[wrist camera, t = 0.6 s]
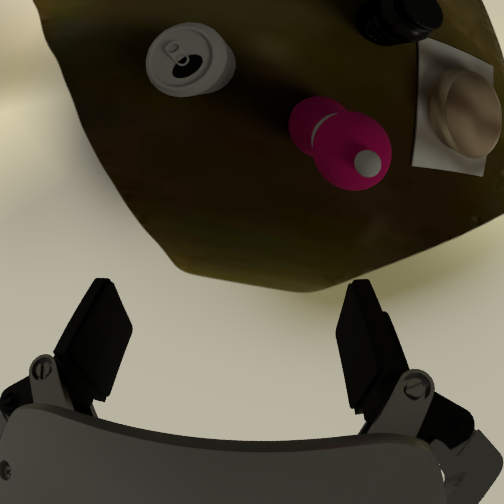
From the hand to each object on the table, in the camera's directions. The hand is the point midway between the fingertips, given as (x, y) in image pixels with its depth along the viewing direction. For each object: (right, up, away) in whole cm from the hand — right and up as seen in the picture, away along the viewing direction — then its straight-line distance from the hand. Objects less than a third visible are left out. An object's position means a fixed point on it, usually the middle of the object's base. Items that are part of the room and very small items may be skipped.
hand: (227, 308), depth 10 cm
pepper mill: (+9, +19, +21) cm, 30 cm away
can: (-5, +25, +17) cm, 31 cm away
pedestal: (+31, +23, +17) cm, 43 cm away
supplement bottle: (+17, +31, +12) cm, 38 cm away
